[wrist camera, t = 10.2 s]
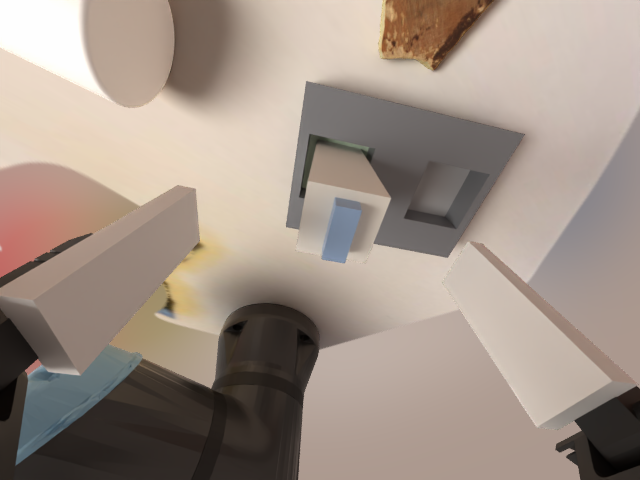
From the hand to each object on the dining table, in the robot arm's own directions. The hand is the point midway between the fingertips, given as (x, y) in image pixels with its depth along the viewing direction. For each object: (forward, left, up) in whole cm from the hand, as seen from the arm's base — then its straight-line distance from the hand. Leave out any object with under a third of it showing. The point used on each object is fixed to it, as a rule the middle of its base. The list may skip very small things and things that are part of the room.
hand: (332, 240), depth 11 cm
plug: (0, 0, -13) cm, 13 cm away
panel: (0, -5, -13) cm, 14 cm away
